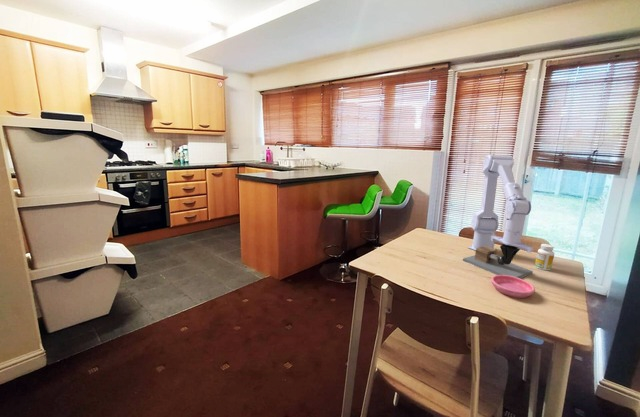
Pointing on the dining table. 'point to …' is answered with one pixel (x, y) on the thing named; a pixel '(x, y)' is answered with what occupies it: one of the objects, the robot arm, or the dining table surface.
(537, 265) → the supplement bottle
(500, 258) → the shaft
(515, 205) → the robot arm
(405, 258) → the dining table surface
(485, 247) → the bearing block
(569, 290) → the dining table surface
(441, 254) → the dining table surface
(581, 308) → the dining table surface
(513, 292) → the saucer
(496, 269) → the base board
